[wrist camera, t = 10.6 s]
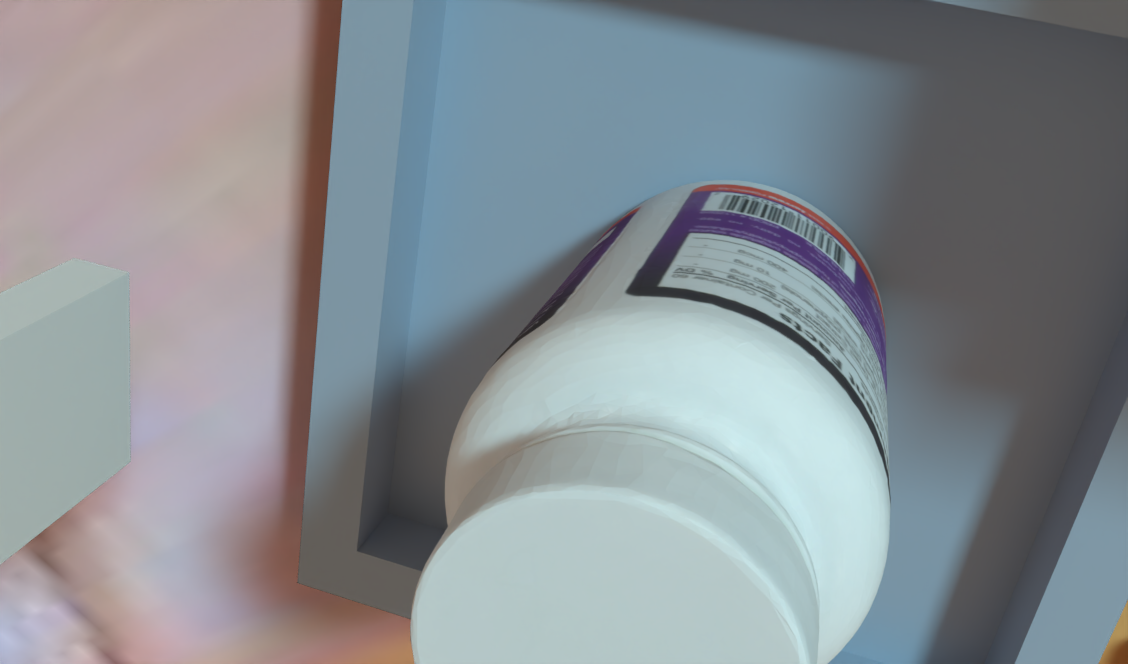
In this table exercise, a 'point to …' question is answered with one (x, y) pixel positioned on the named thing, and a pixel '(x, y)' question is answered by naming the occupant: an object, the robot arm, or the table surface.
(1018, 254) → the tray
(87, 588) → the table surface
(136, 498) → the table surface
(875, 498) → the pill bottle
